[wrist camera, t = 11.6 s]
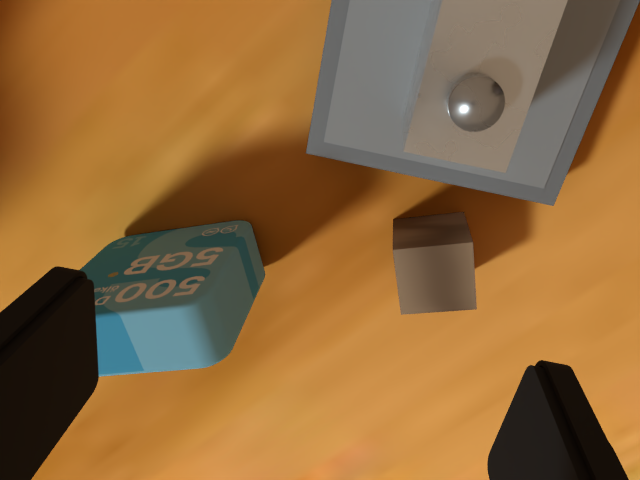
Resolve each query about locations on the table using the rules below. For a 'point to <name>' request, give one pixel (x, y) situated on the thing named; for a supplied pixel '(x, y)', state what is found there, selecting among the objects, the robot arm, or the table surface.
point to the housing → (477, 78)
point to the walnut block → (434, 263)
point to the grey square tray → (395, 78)
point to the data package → (173, 297)
